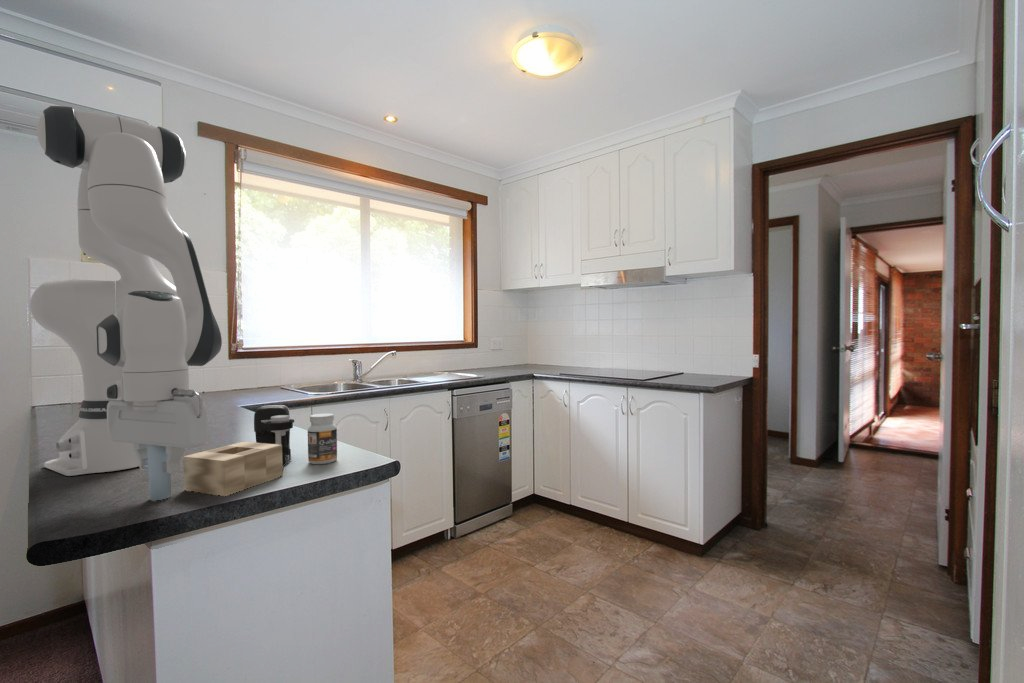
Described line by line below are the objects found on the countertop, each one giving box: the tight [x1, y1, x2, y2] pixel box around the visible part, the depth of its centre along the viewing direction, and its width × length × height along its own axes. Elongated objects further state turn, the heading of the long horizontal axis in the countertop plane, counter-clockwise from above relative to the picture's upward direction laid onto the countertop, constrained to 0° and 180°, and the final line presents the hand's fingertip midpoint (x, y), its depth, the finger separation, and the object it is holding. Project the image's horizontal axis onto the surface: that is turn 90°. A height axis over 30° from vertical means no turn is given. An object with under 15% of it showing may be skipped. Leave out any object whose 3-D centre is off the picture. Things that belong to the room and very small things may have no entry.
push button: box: [266, 415, 295, 466], centre depth 100 cm, size 7×5×10 cm
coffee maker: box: [253, 404, 291, 449], centre depth 105 cm, size 7×4×11 cm, turn 107°
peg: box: [147, 445, 172, 502], centre depth 80 cm, size 3×3×10 cm
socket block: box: [182, 441, 284, 497], centre depth 88 cm, size 10×12×6 cm
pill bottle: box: [307, 412, 338, 465], centre depth 102 cm, size 6×6×10 cm
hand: (159, 470), depth 80 cm, fingers open, 4 cm apart
